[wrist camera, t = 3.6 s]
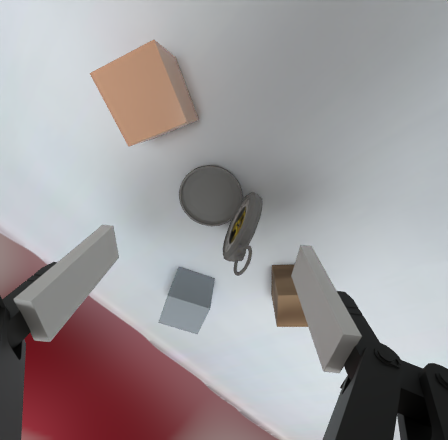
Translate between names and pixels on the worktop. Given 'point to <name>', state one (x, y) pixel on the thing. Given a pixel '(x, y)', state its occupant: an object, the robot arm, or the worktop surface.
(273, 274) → the walnut cube
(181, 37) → the worktop surface
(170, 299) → the slate cube
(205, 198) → the pocket watch
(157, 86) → the terracotta cube
